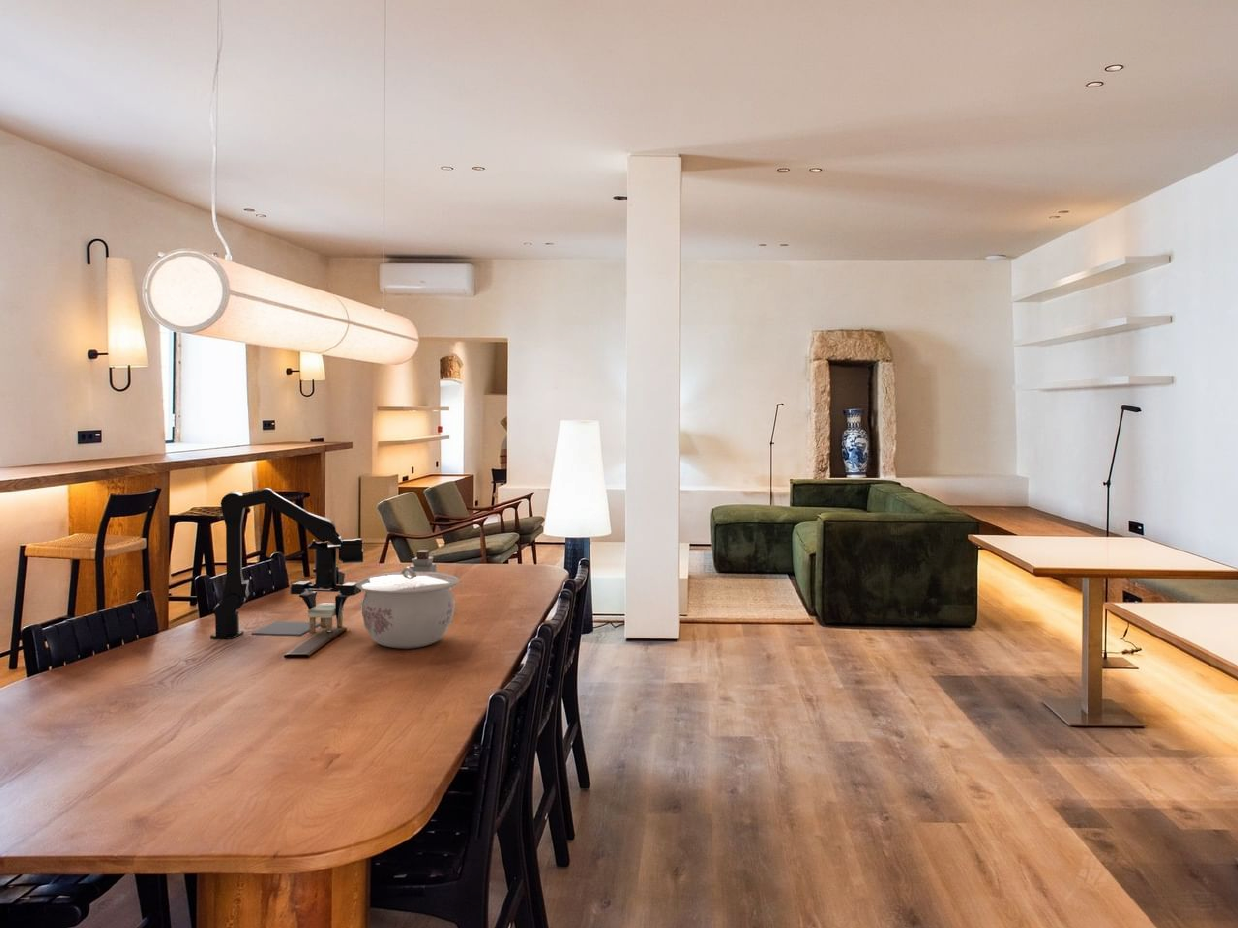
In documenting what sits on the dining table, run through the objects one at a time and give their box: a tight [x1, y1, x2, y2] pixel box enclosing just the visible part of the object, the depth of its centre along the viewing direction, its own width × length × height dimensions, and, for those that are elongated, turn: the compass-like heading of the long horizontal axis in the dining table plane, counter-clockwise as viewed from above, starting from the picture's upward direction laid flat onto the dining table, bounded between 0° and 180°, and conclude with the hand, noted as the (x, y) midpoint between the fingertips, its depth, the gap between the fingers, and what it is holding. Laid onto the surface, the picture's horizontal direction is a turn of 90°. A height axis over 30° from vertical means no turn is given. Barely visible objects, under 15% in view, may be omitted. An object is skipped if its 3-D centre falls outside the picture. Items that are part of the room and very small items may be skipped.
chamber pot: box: [355, 566, 461, 650], centre depth 232 cm, size 28×28×21 cm
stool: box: [307, 602, 345, 634], centre depth 246 cm, size 9×6×6 cm
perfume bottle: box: [408, 549, 437, 572], centre depth 276 cm, size 7×7×18 cm
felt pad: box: [251, 620, 321, 637], centre depth 246 cm, size 14×14×1 cm
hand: (326, 618), depth 246 cm, fingers closed on stool, 6 cm apart
